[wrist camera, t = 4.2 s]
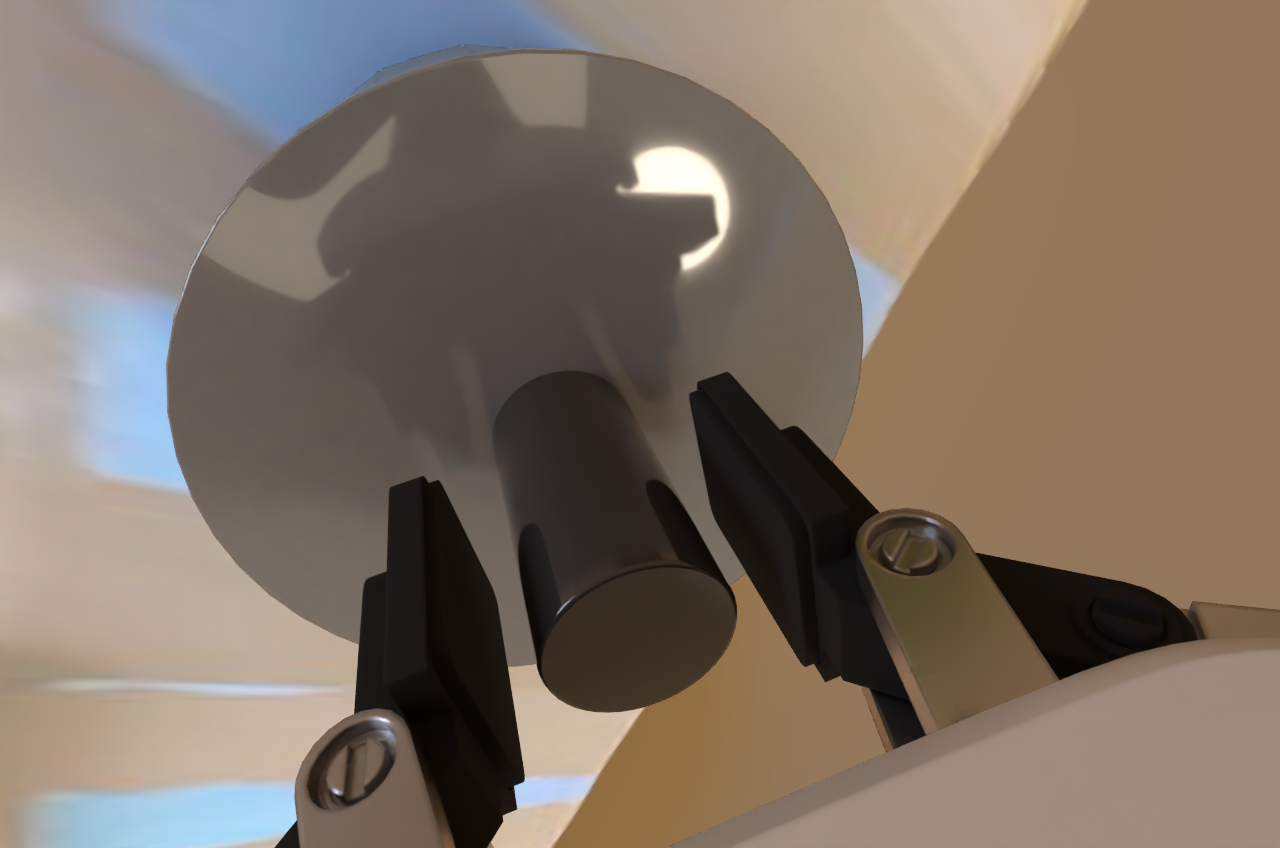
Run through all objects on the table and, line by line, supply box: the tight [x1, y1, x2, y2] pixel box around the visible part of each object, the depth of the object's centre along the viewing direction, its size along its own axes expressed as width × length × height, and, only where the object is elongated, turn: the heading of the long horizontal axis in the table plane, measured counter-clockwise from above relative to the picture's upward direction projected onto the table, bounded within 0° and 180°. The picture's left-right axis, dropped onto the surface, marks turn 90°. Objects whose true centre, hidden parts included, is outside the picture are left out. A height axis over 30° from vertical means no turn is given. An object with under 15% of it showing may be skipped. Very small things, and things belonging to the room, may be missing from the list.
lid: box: [166, 48, 863, 712], centre depth 12 cm, size 13×13×7 cm
